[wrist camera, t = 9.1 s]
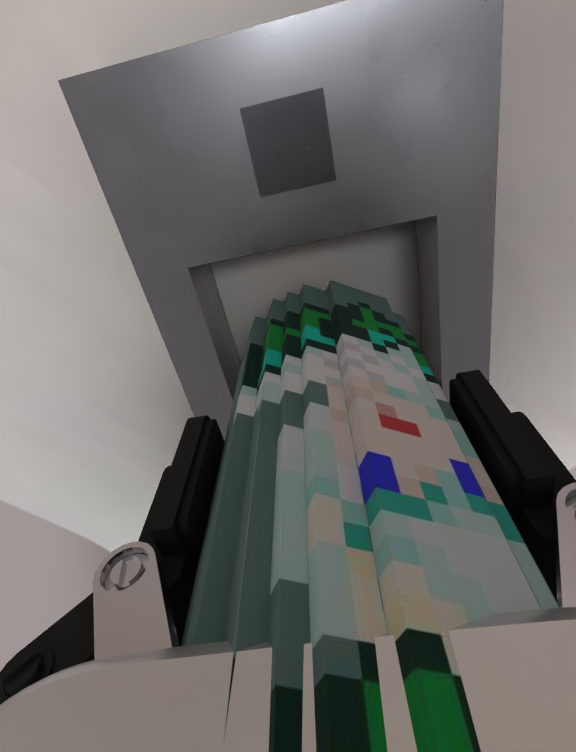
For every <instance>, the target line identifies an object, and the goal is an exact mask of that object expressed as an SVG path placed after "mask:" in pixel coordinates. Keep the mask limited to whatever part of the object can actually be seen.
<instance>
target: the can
mask: <svg viewBox="0 0 576 752" xmlns="http://www.w3.org/2000/svg"><path fill="white" fill-rule="evenodd" d="M550 608H560V607H559V605H558V603H557V601H556V599H555V597H554V596H553V594H552V592H551V590H550V588H549V586H548V584H547V583H546V581H545V579H544V577H543V575H542V573H541V572H540V570H539V568H538V566H537V564H536V562H535V560H534V559H533V557H532V555H531V553H530V551H529V549H528V548H527V546H526V544H525V542H524V540H523V538H522V536H521V535H520V533H519V531H518V529H517V527H516V525H515V523H514V522H513V520H512V518H511V516H510V514H509V512H508V511H507V509H506V507H505V505H504V503H503V501H502V499H501V498H500V496H499V494H498V492H497V490H496V488H495V487H494V485H493V483H492V481H491V479H490V477H489V475H488V474H487V472H486V470H485V468H484V466H483V464H482V463H481V461H480V459H479V457H478V455H477V453H476V451H475V450H474V448H473V446H472V444H471V442H470V440H469V438H468V437H467V435H466V433H465V431H464V429H463V427H462V426H461V424H460V422H459V420H458V418H457V416H456V414H455V413H454V411H453V409H452V407H451V405H450V403H449V402H448V400H447V398H446V396H445V394H444V392H443V390H442V389H441V387H440V385H439V383H438V381H437V379H436V378H435V376H434V374H433V372H432V370H431V368H430V366H429V365H428V363H427V361H426V359H425V357H424V355H423V354H422V352H421V350H420V348H419V346H418V344H417V342H416V341H415V339H414V337H413V335H412V333H411V331H410V329H409V328H408V326H407V324H406V322H405V320H404V318H403V317H402V316H401V315H398V314H395V313H393V312H392V310H391V308H390V306H389V304H388V302H387V300H386V298H383V297H379V296H376V295H373V294H370V293H367V292H364V291H361V290H358V289H355V288H352V287H348V286H345V285H342V284H339V283H336V282H333V281H330V282H329V285H328V287H327V290H326V291H322V290H319V289H316V288H313V287H310V286H307V285H303V287H302V289H301V292H300V295H297V294H294V293H290V292H288V294H287V297H286V300H285V302H281V301H278V300H275V299H273V301H272V304H271V308H270V311H269V314H268V317H267V320H266V319H262V318H259V317H256V316H255V320H254V323H253V326H252V329H251V333H250V336H249V339H248V343H247V346H246V349H245V352H244V356H243V359H242V362H241V366H240V371H239V375H238V380H237V385H236V389H235V394H234V399H233V404H232V408H231V413H230V418H229V422H228V427H227V432H226V436H225V441H224V446H223V451H222V455H221V460H220V465H219V469H218V474H217V479H216V483H215V488H214V493H213V498H212V502H211V507H210V512H209V516H208V521H207V526H206V530H205V535H204V540H203V545H202V549H201V554H200V559H199V563H198V568H197V573H196V577H195V582H194V587H193V592H192V596H191V601H190V606H189V610H188V615H187V620H186V624H185V629H184V634H183V639H182V643H181V646H187V645H195V644H205V643H214V642H223V641H229V643H230V645H231V647H232V649H233V661H232V670H231V679H230V688H229V697H228V707H227V716H228V709H229V702H230V695H231V687H232V680H233V673H234V666H235V659H236V652H237V651H240V650H243V649H245V648H248V647H251V646H255V645H258V644H262V643H265V642H268V643H269V644H270V645H271V646H272V668H271V697H270V726H269V752H302V713H303V662H304V644H306V643H309V642H311V643H312V660H313V682H314V706H315V729H316V752H387V743H386V735H385V726H384V717H383V709H382V700H381V691H380V682H379V674H378V665H377V656H376V647H375V638H374V637H376V636H379V635H382V634H385V633H390V634H392V635H394V640H395V645H396V650H397V654H398V659H399V664H400V669H401V674H402V679H403V684H404V689H405V693H406V698H407V703H408V708H409V713H410V718H411V723H412V728H413V733H414V737H415V742H416V747H417V752H481V750H480V746H479V742H478V739H477V735H476V731H475V727H474V723H473V720H472V716H471V712H470V708H469V705H468V701H467V697H466V694H465V690H464V686H463V682H462V679H461V675H460V671H459V668H458V664H457V660H456V656H455V653H454V649H453V645H452V642H451V638H450V634H449V630H450V629H453V628H455V627H458V626H460V625H463V624H466V623H469V622H471V621H474V620H478V619H481V618H484V617H487V616H491V615H494V614H497V613H505V612H516V611H526V610H538V609H550ZM227 716H226V723H227ZM225 730H226V725H225ZM224 737H225V734H224ZM223 744H224V743H223Z"/></svg>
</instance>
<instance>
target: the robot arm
mask: <svg viewBox="0 0 576 752" xmlns="http://www.w3.org/2000/svg"><path fill="white" fill-rule="evenodd" d="M449 394H450V405H451V407H452V409H453V411H454V413H455V414H456V416H457V418H458V420H459V422H460V424H461V426H462V427H463V429H464V431H465V433H466V435H467V437H468V438H469V440H470V442H471V444H472V446H473V448H474V450H475V451H476V453H477V455H478V457H479V459H480V461H481V463H482V464H483V466H484V468H485V470H486V472H487V474H488V475H489V477H490V479H491V481H492V483H493V485H494V487H495V488H496V490H497V492H498V494H499V496H500V498H501V499H502V501H503V503H504V505H505V507H506V509H507V511H508V512H509V514H510V516H511V518H512V520H513V522H514V523H515V525H516V527H517V529H518V531H519V533H520V535H521V536H522V538H523V540H524V542H525V544H526V546H527V548H528V549H529V551H530V553H531V555H532V557H533V559H534V560H535V562H536V564H537V566H538V568H539V570H540V572H541V573H542V575H543V577H544V579H545V581H546V583H547V584H548V586H549V588H550V590H551V592H552V594H553V596H554V597H555V599H556V601H557V603H558V605H559V607H560V608H550V609H538V610H526V611H516V612H505V613H497V614H494V615H491V616H487V617H484V618H481V619H478V620H474V621H471V622H469V623H466V624H463V625H460V626H458V627H455V628H453V629H450V630H449V634H450V638H451V642H452V645H453V649H454V653H455V656H456V660H457V664H458V668H459V671H460V675H461V679H462V682H463V686H464V690H465V694H466V697H467V701H468V705H469V708H470V712H471V716H472V720H473V723H474V727H475V731H476V735H477V739H478V742H479V746H480V750H481V752H576V480H575V479H574V478H573V476H572V475H571V474H570V472H569V471H568V470H567V468H566V467H565V466H564V465H563V463H562V462H561V461H560V459H559V458H558V457H557V456H556V454H555V453H554V452H553V450H552V449H551V448H550V446H549V445H548V444H547V443H546V441H545V440H544V439H543V437H542V436H541V435H540V434H539V432H538V431H537V430H536V428H535V427H534V426H533V424H532V423H531V422H530V421H529V419H528V418H527V417H526V416H525V415H524V414H523V413H522V412H514V413H511V412H510V411H509V409H508V408H507V407H506V405H505V404H504V403H503V401H502V400H501V398H500V397H499V396H498V394H497V393H496V392H495V390H494V389H493V387H492V386H491V385H490V383H489V382H488V381H487V379H486V378H485V377H484V375H483V374H482V372H481V371H480V370H472V371H466V372H460V373H457V374H456V379H451V380H450V382H449ZM223 446H224V439H223V436H222V433H221V431H220V428H219V425H218V423H217V421H216V419H210V417H209V416H207V415H205V416H199V417H193V418H189V419H188V420H187V422H186V425H185V428H184V431H183V434H182V436H181V439H180V442H179V445H178V448H177V451H176V454H175V456H174V459H173V462H172V465H171V466H168V467H167V468H165V470H164V472H163V475H162V478H161V480H160V483H159V486H158V489H157V491H156V494H155V497H154V500H153V502H152V505H151V508H150V510H149V513H148V516H147V519H146V521H145V524H144V527H143V530H142V532H141V535H140V538H139V541H138V542H131V543H128V544H125V545H122V546H121V547H119V548H117V549H115V550H114V551H113V552H111V553H110V554H109V555H108V556H107V557H106V558H105V559H104V560H103V561H102V563H101V564H100V565H99V567H98V569H97V571H96V573H95V575H94V581H93V593H92V594H91V595H89V596H88V597H87V598H86V599H84V600H83V601H82V602H81V603H79V604H78V605H77V606H76V607H74V608H73V609H72V610H71V611H69V612H68V613H67V614H66V615H64V616H63V617H62V618H61V619H59V620H58V621H57V622H56V623H54V624H53V625H52V626H51V627H49V628H48V629H47V630H46V631H44V632H43V633H42V634H41V635H40V636H38V637H37V638H36V639H35V640H33V641H32V642H31V643H30V644H28V645H27V646H26V647H25V648H23V649H22V650H21V651H20V652H18V653H17V654H16V655H15V656H14V657H13V658H12V659H11V660H10V661H9V662H8V663H7V664H6V665H5V667H4V668H3V669H2V671H1V672H0V752H269V726H270V697H271V668H272V646H271V645H270V644H269V643H268V642H265V643H262V644H258V645H255V646H251V647H248V648H245V649H243V650H240V651H237V652H236V659H235V666H234V673H233V680H232V687H231V695H230V702H229V709H228V716H227V707H228V697H229V688H230V679H231V670H232V661H233V649H232V647H231V645H230V643H229V641H223V642H214V643H205V644H195V645H187V646H181V643H182V639H183V634H184V629H185V624H186V620H187V615H188V610H189V606H190V601H191V596H192V592H193V587H194V582H195V577H196V573H197V568H198V563H199V559H200V554H201V549H202V545H203V540H204V535H205V530H206V526H207V521H208V516H209V512H210V507H211V502H212V498H213V493H214V488H215V483H216V479H217V474H218V469H219V465H220V460H221V455H222V451H223ZM374 638H375V647H376V656H377V665H378V674H379V682H380V691H381V700H382V709H383V717H384V726H385V735H386V743H387V752H417V747H416V742H415V737H414V733H413V728H412V723H411V718H410V713H409V708H408V703H407V698H406V693H405V689H404V684H403V679H402V674H401V669H400V664H399V659H398V654H397V650H396V645H395V640H394V635H392V634H390V633H385V634H382V635H379V636H376V637H374ZM226 716H227V723H226ZM225 725H226V730H225ZM224 734H225V737H224ZM223 743H224V744H223ZM302 752H316V729H315V706H314V682H313V660H312V643H311V642H309V643H306V644H304V662H303V713H302Z"/></svg>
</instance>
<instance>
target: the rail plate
mask: <svg viewBox="0 0 576 752" xmlns="http://www.w3.org/2000/svg"><path fill="white" fill-rule="evenodd" d="M502 23H503V0H347V1H343V2H339V3H336V4H332V5H329V6H325V7H321V8H318V9H314V10H311V11H307V12H303V13H300V14H296V15H293V16H289V17H285V18H282V19H278V20H275V21H271V22H267V23H264V24H260V25H257V26H253V27H249V28H246V29H242V30H239V31H235V32H231V33H228V34H224V35H221V36H217V37H213V38H210V39H206V40H203V41H199V42H195V43H192V44H188V45H185V46H181V47H177V48H174V49H170V50H166V51H163V52H159V53H156V54H152V55H148V56H145V57H141V58H138V59H134V60H130V61H127V62H123V63H120V64H116V65H112V66H109V67H105V68H102V69H98V70H94V71H91V72H87V73H84V74H80V75H76V76H73V77H69V78H66V79H62V80H58V82H59V84H60V87H61V89H62V91H63V94H64V96H65V99H66V101H67V104H68V106H69V109H70V111H71V114H72V116H73V119H74V121H75V123H76V126H77V128H78V131H79V133H80V136H81V138H82V141H83V143H84V146H85V148H86V150H87V153H88V155H89V158H90V160H91V163H92V165H93V168H94V170H95V173H96V175H97V178H98V180H99V182H100V185H101V187H102V190H103V192H104V195H105V197H106V200H107V202H108V205H109V207H110V210H111V212H112V214H113V217H114V219H115V222H116V224H117V227H118V229H119V232H120V234H121V237H122V239H123V241H124V244H125V246H126V249H127V251H128V254H129V256H130V259H131V261H132V264H133V266H134V269H135V271H136V273H137V276H138V278H139V281H140V283H141V286H142V288H143V291H144V293H145V296H146V298H147V301H148V303H149V305H150V308H151V310H152V313H153V315H154V318H155V320H156V323H157V325H158V328H159V330H160V332H161V335H162V337H163V340H164V342H165V345H166V347H167V350H168V352H169V355H170V357H171V360H172V362H173V364H174V367H175V369H176V372H177V374H178V377H179V379H180V382H181V384H182V387H183V389H184V392H185V394H186V396H187V399H188V401H189V404H190V406H191V409H192V411H193V414H194V416H195V417H199V416H205V415H207V416H209V417H210V419H216V421H217V423H218V425H219V428H220V431H221V433H222V436H223V439H224V441H225V436H226V432H227V427H228V422H229V418H230V413H231V408H232V404H233V399H234V394H235V389H236V385H237V380H238V375H239V371H240V366H241V363H240V360H239V357H238V354H237V351H236V347H235V344H234V341H233V338H232V335H231V331H230V328H229V325H228V322H227V319H226V315H225V312H224V309H223V306H222V303H221V299H220V296H219V293H218V290H217V286H216V283H215V280H214V277H213V274H212V270H211V267H210V264H209V263H213V262H218V261H222V260H227V259H232V258H237V257H241V256H246V255H251V254H256V253H260V252H265V251H270V250H275V249H279V248H284V247H289V246H294V245H298V244H303V243H308V242H313V241H317V240H322V239H327V238H332V237H336V236H341V235H346V234H351V233H355V232H360V231H365V230H370V229H374V228H379V227H384V226H389V225H393V224H398V223H403V222H408V221H412V220H416V230H417V249H418V267H419V286H420V304H421V323H422V342H423V355H424V357H425V359H426V361H427V363H428V365H429V366H430V368H431V370H432V372H433V374H434V376H435V378H436V379H437V381H438V383H439V385H440V387H441V389H442V390H443V392H444V394H445V396H446V398H447V400H448V402H449V403H450V394H449V382H450V380H451V379H456V374H457V373H460V372H466V371H472V370H480V371H481V372H482V374H483V375H484V377H485V378H486V379H487V381H488V382H489V359H490V333H491V307H492V282H493V256H494V230H495V204H496V178H497V153H498V127H499V101H500V75H501V49H502Z"/></svg>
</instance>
